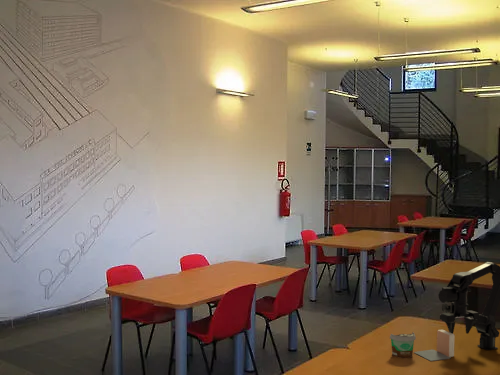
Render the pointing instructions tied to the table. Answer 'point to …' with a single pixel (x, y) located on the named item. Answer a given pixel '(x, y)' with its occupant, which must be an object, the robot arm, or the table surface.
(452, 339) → the glazed tile
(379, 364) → the table surface
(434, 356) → the rubber mat
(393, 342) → the food container
